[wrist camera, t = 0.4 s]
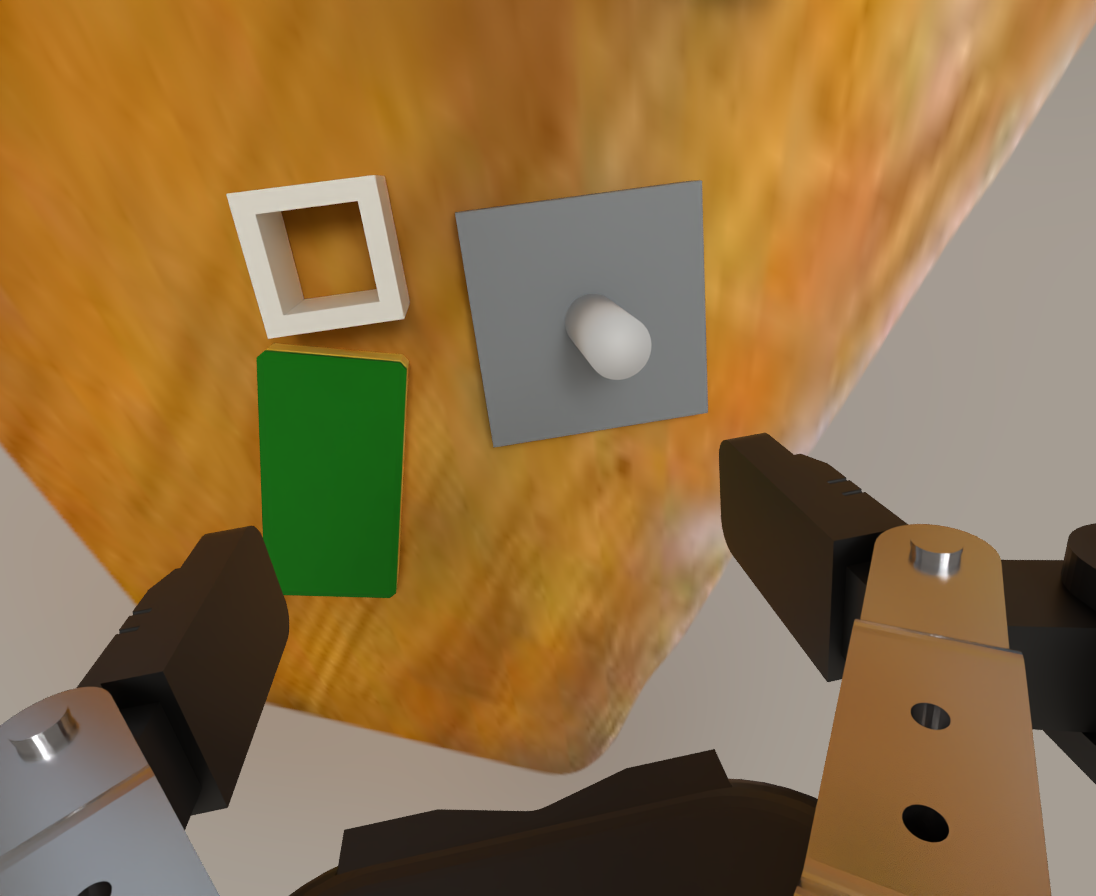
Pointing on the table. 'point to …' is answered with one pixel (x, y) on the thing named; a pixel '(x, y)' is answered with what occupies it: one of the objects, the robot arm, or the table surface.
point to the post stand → (588, 310)
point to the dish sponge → (332, 468)
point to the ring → (277, 268)
